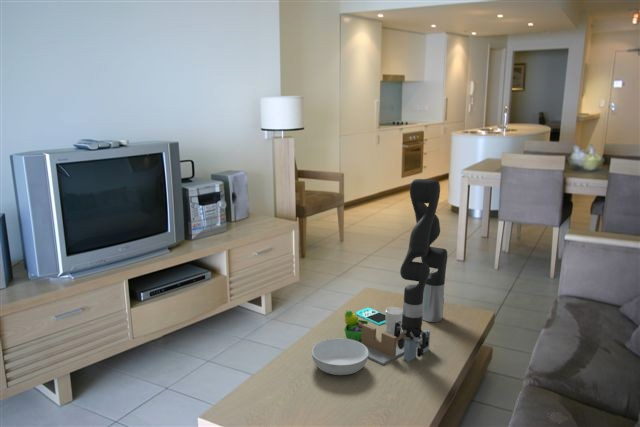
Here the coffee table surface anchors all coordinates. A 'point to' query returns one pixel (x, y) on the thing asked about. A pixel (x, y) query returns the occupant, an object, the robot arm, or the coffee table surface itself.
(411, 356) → the slotted plate
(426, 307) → the robot arm
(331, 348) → the serving bowl
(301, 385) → the coffee table surface
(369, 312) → the handheld game console
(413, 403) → the coffee table surface
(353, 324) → the fruit basket
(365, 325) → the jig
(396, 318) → the white cup
